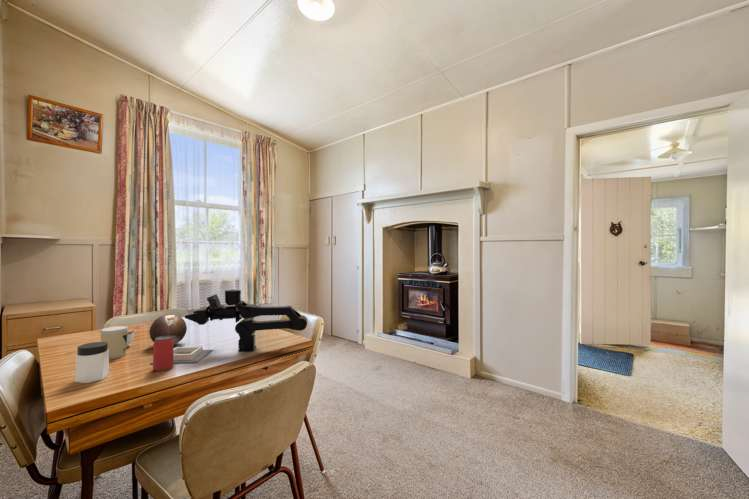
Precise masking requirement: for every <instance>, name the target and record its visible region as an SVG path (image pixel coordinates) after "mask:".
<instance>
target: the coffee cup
mask: <svg viewBox="0 0 749 499" xmlns="http://www.w3.org/2000/svg"><path fill="white" fill-rule="evenodd" d="M99 333H100V342H107V343H108V349H109V360H113V359H118V358H123V357H124V356H126V351H127V347H126V344H127V333H128V326H126V325H115V326H108V327H104V328H102V329H101V330H100V332H99Z"/></svg>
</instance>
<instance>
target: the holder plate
mask: <svg viewBox="0 0 749 499" xmlns="http://www.w3.org/2000/svg"><path fill="white" fill-rule="evenodd" d="M213 351H214V350H213V349H203V346H176V347H174V350H173V365H179V364H184V365H185V364H198V363H200V362H201V361H202V360H203V359H204V358H206V357H207V356H208V355H210V354H211V353H212V352H213ZM149 365H153V361H151V362H149Z"/></svg>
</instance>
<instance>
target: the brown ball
mask: <svg viewBox="0 0 749 499" xmlns="http://www.w3.org/2000/svg"><path fill="white" fill-rule="evenodd" d="M187 328H188V327H187V323H186V321H185V320H184V318H183V317H182V316H180V315H177V314H173V313H169V314H164V315H161V316H159V317H157V318H156V319H154V321H153V322H152V324H151V325H150V328H149V337H150V339H151V341H152V343H154V341H155V338H157V337H161V336H172V339H173V342H174V345H177V344H179V343H180V342H181V341H182V340H183V339H184V337H185V336H186V335H187V334H186V333H187V332H188V330H187Z"/></svg>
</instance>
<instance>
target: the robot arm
mask: <svg viewBox="0 0 749 499" xmlns="http://www.w3.org/2000/svg"><path fill="white" fill-rule="evenodd" d="M206 300H207V302H208V306H207V307H206V308H201V309H199V310H195V311H193V313H190V314H185V315H184V318H185V319H186V320H189V321H191V322H194V323H196V324H197V325H199V326H203V325H206V324H207V323H208V322H209V321H210V322H211V321H214V320H219V321H223V320H228V319H229V320H231V319H235V320H234V321H235V323H236V325H235V326H234V331H235V332H236V334H238V337H239V339H238V346H237V347H238V352H253V351H255V349H256V348H257V345H256V334H255V333H256V332H257V331H269V330H271V331H272V330H281V329H283V330H285V329H287V330H288V329H289V330H292V331H299V332H300V331H304V330H305V329H306V328H307V326H308V318H307V317H306V316H304V315H302V314H301V313H300V312H298V311H297V310H296V309H294V308H293V307H292V305H285V306H282V305H281V306H280V305H279V306H262V305H261V306H260V305H257V304H253V303H252V304H250V303H249V304H248V303H247V302H245V301H243V300H242V290H241V289H239V290H238V289H226V290H224V302H225V304H226V305H227V306H226V305H224V304H221V301H220V298H219V296H218V295H217V293H216V294H213V295H210V296H208V297H206ZM261 316H286V317H287V319H275V320H273V319H271V320H260V321H259V320H255V318H256V317H261Z"/></svg>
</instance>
